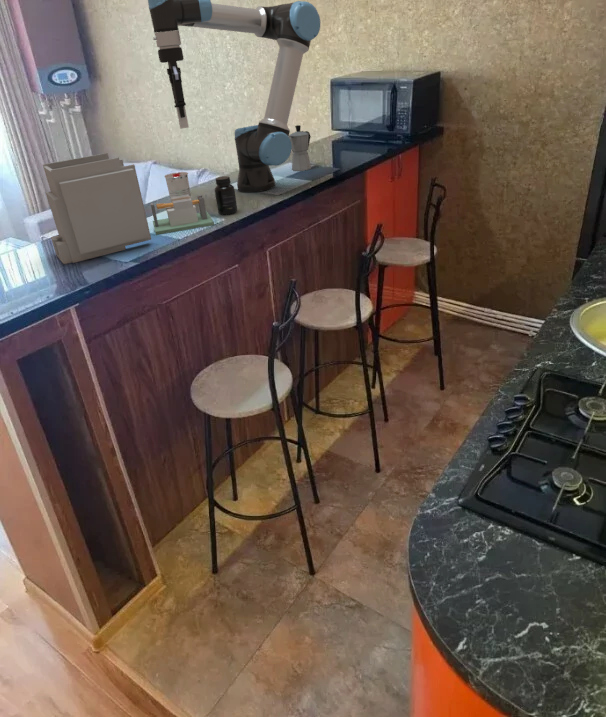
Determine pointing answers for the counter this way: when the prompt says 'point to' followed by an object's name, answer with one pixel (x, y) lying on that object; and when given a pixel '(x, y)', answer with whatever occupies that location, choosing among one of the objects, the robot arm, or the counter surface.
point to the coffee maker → (300, 149)
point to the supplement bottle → (225, 196)
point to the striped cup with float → (178, 184)
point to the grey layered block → (95, 207)
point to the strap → (162, 205)
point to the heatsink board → (181, 227)
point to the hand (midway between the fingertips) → (184, 127)
